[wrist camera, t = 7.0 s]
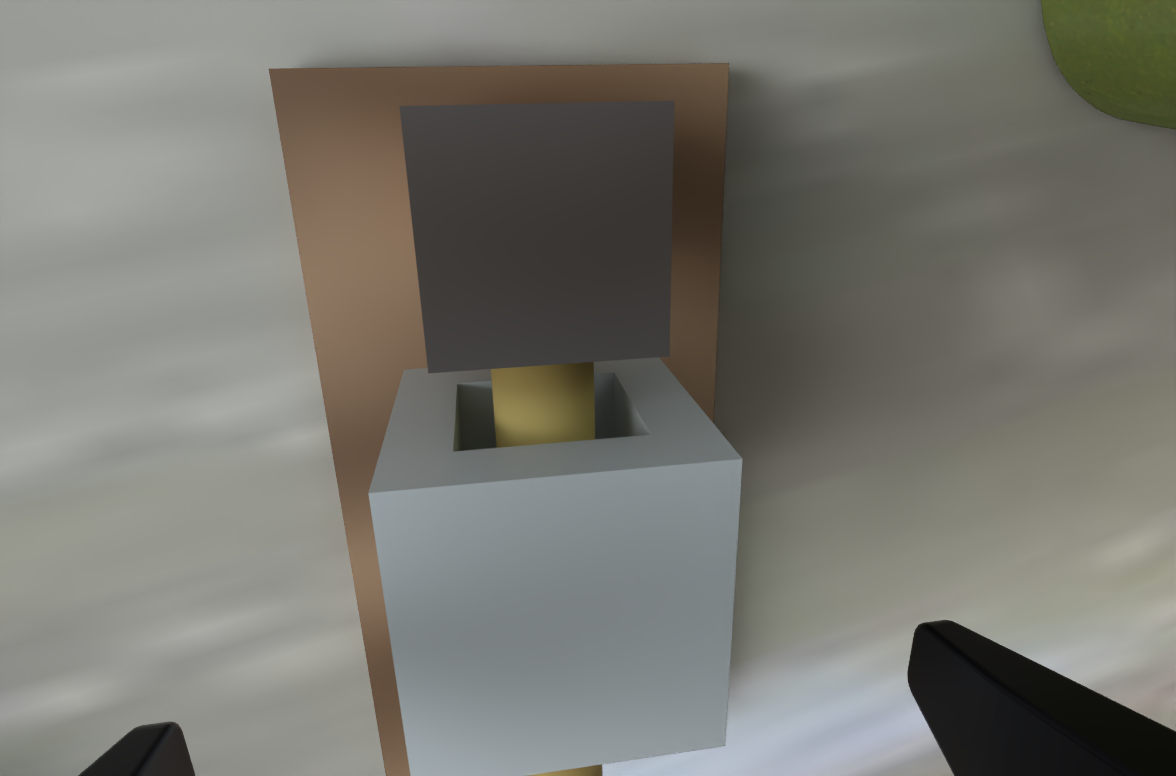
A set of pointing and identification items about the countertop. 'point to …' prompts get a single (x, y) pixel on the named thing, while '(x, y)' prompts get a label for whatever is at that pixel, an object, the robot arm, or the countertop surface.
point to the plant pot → (1118, 55)
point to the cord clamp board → (386, 269)
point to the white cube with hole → (556, 576)
